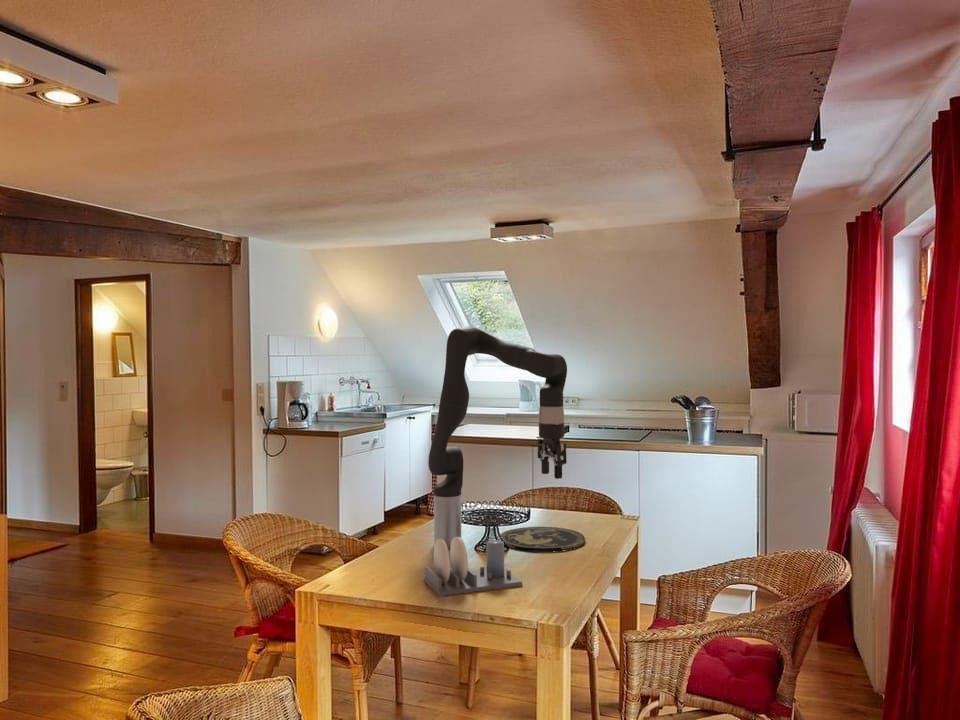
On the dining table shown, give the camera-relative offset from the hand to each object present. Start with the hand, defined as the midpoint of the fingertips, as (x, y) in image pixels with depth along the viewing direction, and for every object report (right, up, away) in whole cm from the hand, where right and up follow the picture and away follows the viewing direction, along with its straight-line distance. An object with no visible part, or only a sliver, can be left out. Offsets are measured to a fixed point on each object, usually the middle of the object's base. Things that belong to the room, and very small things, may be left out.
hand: (551, 476), depth 213 cm
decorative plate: (0, -28, +34) cm, 45 cm away
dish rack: (-23, -28, -11) cm, 38 cm away
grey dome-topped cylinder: (-17, -27, -8) cm, 33 cm away
